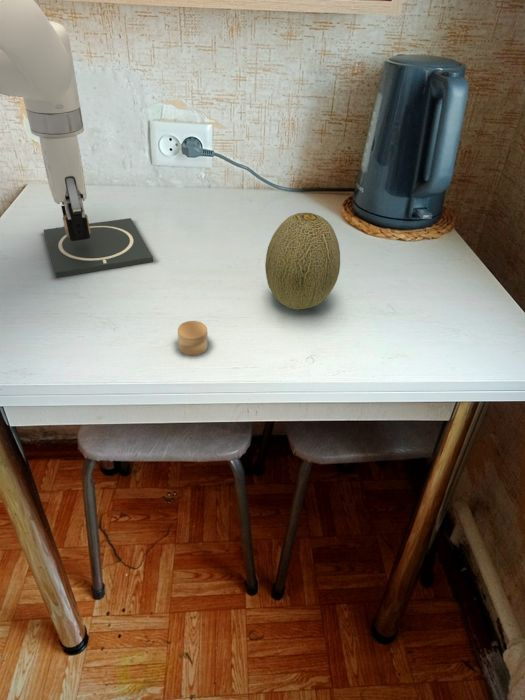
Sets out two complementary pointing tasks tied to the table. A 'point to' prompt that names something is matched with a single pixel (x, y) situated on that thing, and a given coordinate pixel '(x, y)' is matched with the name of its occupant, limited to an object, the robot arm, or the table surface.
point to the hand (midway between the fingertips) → (77, 231)
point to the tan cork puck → (66, 225)
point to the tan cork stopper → (192, 337)
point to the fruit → (302, 261)
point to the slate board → (97, 248)
